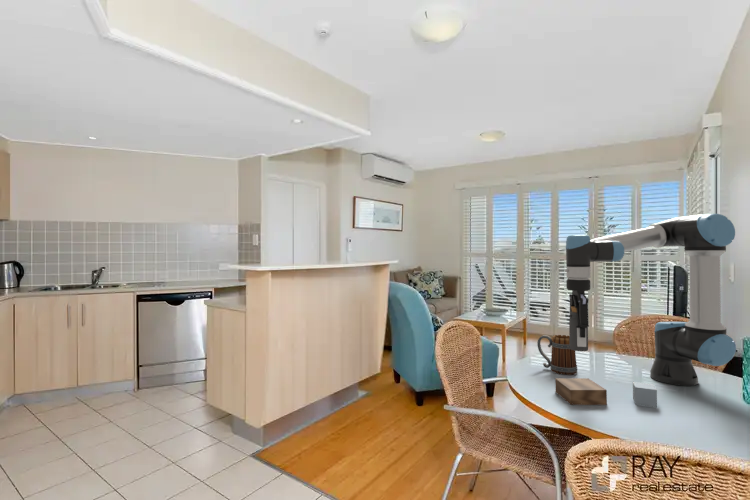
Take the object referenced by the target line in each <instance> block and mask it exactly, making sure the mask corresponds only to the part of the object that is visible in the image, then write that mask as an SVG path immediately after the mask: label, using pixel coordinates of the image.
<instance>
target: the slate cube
mask: <svg viewBox="0 0 750 500" xmlns="http://www.w3.org/2000/svg"><path fill="white" fill-rule="evenodd" d="M632 399H633V402H634V404H635V406H641V407H650V408H654V409H655V408H656V409H658V390H657V388H656V386H655V384H653V383H646V382H639V381H633V382H632Z"/></svg>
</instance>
